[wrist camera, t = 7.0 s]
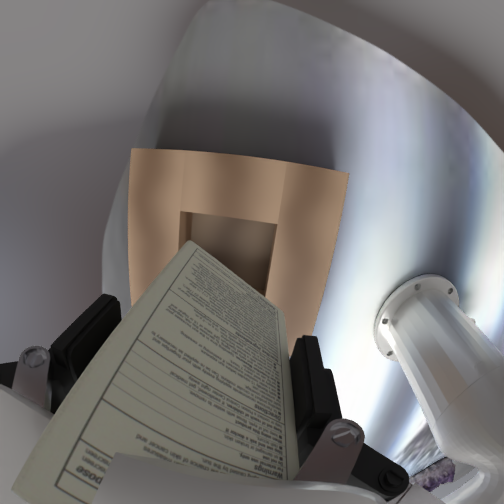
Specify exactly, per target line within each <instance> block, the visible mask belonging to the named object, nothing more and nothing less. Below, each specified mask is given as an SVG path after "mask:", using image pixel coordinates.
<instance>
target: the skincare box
mask: <svg viewBox="0 0 504 504" xmlns="http://www.w3.org/2000/svg"><path fill="white" fill-rule="evenodd" d="M116 452H119V453H124V454H130V455H136V456H142V457H149V458H157V459H162V460H165V461H169V462H172V463H176V464H180V465H184V466H188V467H193V468H197V469H202V470H207V471H212V472H217V473H223V474H230V475H236V476H244V477H253V478H262V479H273V480H290V481H292V480H293V478H294V477H295V475H296V474H297V472H298V471H299V457H298V443H297V433H296V425H295V412H294V400H293V390H292V380H291V370H290V360H289V351H288V342H287V333H286V325H285V317H284V313H283V311H281V310H280V309H279V308H278V307H276V306H275V305H274V304H273V303H271V302H270V301H269V300H268V299H266V298H265V297H264V296H263V295H261V294H260V293H259V292H258V291H256V290H255V289H254V288H252V287H251V286H250V285H248V284H247V283H246V282H245V281H243V280H242V279H241V278H240V277H238V276H237V275H236V274H234V273H233V272H232V271H231V270H229V269H228V268H227V267H226V266H224V265H223V264H222V263H220V262H219V261H218V260H217V259H215V258H214V257H213V256H211V255H210V254H209V253H207V252H206V251H205V250H203V249H202V248H201V247H199V246H198V245H197V244H195V243H194V242H193V241H191V240H189V241H187V242H186V243H185V244H184V245H183V247H182V248H181V249H180V250H179V251H178V252H177V253H176V254H175V256H174V257H173V258H172V259H171V260H170V262H169V263H168V264H167V265H166V266H165V268H164V269H163V270H162V271H161V272H160V274H159V275H158V276H157V277H156V278H155V279H154V281H153V282H152V283H151V284H150V286H149V287H148V288H147V289H146V290H145V292H144V293H143V294H142V295H141V297H140V298H139V299H138V300H137V301H136V303H135V304H134V305H133V306H132V308H131V309H130V310H129V312H128V313H127V314H126V315H125V317H124V318H123V319H122V321H121V322H120V323H119V324H118V326H117V327H116V328H115V329H114V331H113V332H112V333H111V335H110V336H109V337H108V339H107V340H106V341H105V343H104V344H103V345H102V347H101V348H100V349H99V351H98V352H97V353H96V355H95V356H94V358H93V359H92V360H91V362H90V363H89V365H88V366H87V367H86V369H85V370H84V372H83V373H82V374H81V376H80V377H79V379H78V380H77V382H76V383H75V384H74V386H73V387H72V389H71V390H70V392H69V393H68V395H67V396H66V398H65V399H64V401H63V402H62V404H61V405H60V407H59V408H58V410H57V411H56V413H55V414H54V416H53V417H52V419H51V421H50V422H49V424H48V425H47V427H46V428H45V430H44V432H43V433H42V435H41V437H40V438H39V440H38V442H37V443H36V445H35V447H34V448H33V450H32V452H31V453H30V455H29V457H28V459H27V460H26V462H25V464H24V466H23V467H22V469H21V471H20V473H19V475H18V476H17V478H16V480H15V482H14V484H13V486H12V488H11V492H12V493H13V494H14V495H16V496H17V497H19V498H21V499H23V500H24V501H25V502H27V503H28V504H92V502H93V499H94V497H95V495H96V493H97V490H98V488H99V486H100V484H101V481H102V479H103V477H104V475H105V473H106V471H107V469H108V467H109V465H110V463H111V461H112V459H113V457H114V455H115V453H116Z"/></svg>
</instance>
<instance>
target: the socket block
mask: <svg viewBox="0 0 504 504" xmlns="http://www.w3.org/2000/svg"><path fill="white" fill-rule="evenodd" d="M348 178H349V173H345V172H340V171H336V170H331V169H326V168H320V167H315V166H310V165H304V164H298V163H292V162H286V161H279V160H273V159H266V158H258V157H250V156H242V155H233V154H223V153H213V152H201V151H187V150H169V149H137V148H132V149H131V161H130V175H129V195H128V258H129V278H130V293H131V304H132V306H133V305H134V304H135V303H136V301H137V300H138V299H139V298H140V297H141V295H142V294H143V293H144V292H145V290H146V289H147V288H148V287H149V286H150V284H151V283H152V282H153V281H154V279H155V278H156V277H157V276H158V275H159V274H160V272H161V271H162V270H163V269H164V268H165V266H166V265H167V264H168V263H169V262H170V260H171V259H172V258H173V257H174V256H175V254H176V253H177V252H178V251H179V250H180V249H181V248H182V247H183V245H184V244H185V243H186V242H187V241H189V240H191V241H193V242H194V243H195V244H197V245H198V246H199V247H201V248H202V249H203V250H205V251H206V252H207V253H209V254H210V255H211V256H213V257H214V258H215V259H217V260H218V261H219V262H220V263H222V264H223V265H224V266H226V267H227V268H228V269H229V270H231V271H232V272H233V273H234V274H236V275H237V276H238V277H240V278H241V279H242V280H243V281H245V282H246V283H247V284H248V285H250V286H251V287H252V288H254V289H255V290H256V291H258V292H259V293H260V294H261V295H263V296H264V297H265V298H266V299H268V300H269V301H270V302H271V303H273V304H274V305H275V306H276V307H278V308H279V309H280V310H281V311H283V313H284V317H285V325H286V333H287V342H288V351H289V356H291V355H292V352H293V349H294V346H295V343H296V340H297V338H302V336H303V335H309V336H311V335H312V332H313V329H314V325H315V322H316V318H317V315H318V311H319V308H320V304H321V301H322V297H323V293H324V289H325V285H326V282H327V278H328V274H329V270H330V265H331V261H332V257H333V253H334V248H335V244H336V240H337V235H338V230H339V226H340V221H341V216H342V211H343V206H344V200H345V195H346V189H347V184H348Z"/></svg>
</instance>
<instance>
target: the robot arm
mask: <svg viewBox="0 0 504 504" xmlns="http://www.w3.org/2000/svg"><path fill="white" fill-rule="evenodd" d="M121 321H122V319H121V309H120V302H119V301H117V298H116V297H115V296H112V295H108V294H102V295H101V296H100V297H99V298H98V299H97V300H96V301H95V302H94V303H93V304H92V305H91V306H90V307H89V308H88V309H86V310H85V311H84V312H83V314H81V315H80V316H79V317H78V318H77V319H76V320H75V321H74V322H73V323H72V324H71V325H70V326H69V327H68V328H67V330H65V331H64V332H63V333H62V334H61V335H60V336H59V337H58V338H57V339H56V340H55V341H54V342H53V344H52V345H51V348H50V349H49V350H47V349H46V348H44V347H42V346H31V347H28V348H26V349H25V350H24V351H23V352H22V353H21V355H20V357H19V361H17V362H10V363H3V364H0V504H28V503H27V502H25V501H24V500H23V499H21V498H19V497H17V496H16V495H14V494H13V493H12V492H11V488H12V486H13V484H14V482H15V480H16V478H17V476H18V475H19V473H20V471H21V469H22V467H23V466H24V464H25V462H26V460H27V459H28V457H29V455H30V453H31V452H32V450H33V448H34V447H35V445H36V443H37V442H38V440H39V438H40V437H41V435H42V433H43V432H44V430H45V428H46V427H47V425H48V424H49V422H50V421H51V419H52V417H53V416H54V414H55V413H56V411H57V410H58V408H59V407H60V405H61V404H62V402H63V401H64V399H65V398H66V396H67V395H68V393H69V392H70V390H71V389H72V387H73V386H74V384H75V383H76V382H77V380H78V379H79V377H80V376H81V374H82V373H83V372H84V370H85V369H86V367H87V366H88V365H89V363H90V362H91V360H92V359H93V358H94V356H95V355H96V353H97V352H98V351H99V349H100V348H101V347H102V345H103V344H104V343H105V341H106V340H107V339H108V337H109V336H110V335H111V333H112V332H113V331H114V329H115V328H116V327H117V326H118V324H119V323H120V322H121ZM374 338H375V343H376V345H377V347H378V349H379V351H380V352H381V354H382V355H383V356H384V357H386V358H388V359H390V360H392V361H397V362H399V363H400V365H401V367H402V369H403V371H404V373H405V375H406V377H407V379H408V381H409V383H410V385H411V387H412V389H413V391H414V393H415V395H416V398H417V400H418V402H419V404H420V406H421V408H422V411H423V413H424V415H425V417H426V420H427V422H428V424H429V427H430V429H431V431H432V434H433V436H434V439H435V441H436V444H437V446H438V447H439V449H440V451H441V452H442V453H443V454H444V455H445V456H446V457H448V458H450V459H452V460H454V461H457V462H461V463H465V464H469V465H472V466H474V467H476V468H477V469H478V472H477V474H476V475H475V476H474V477H472V478H471V479H470V480H468V481H467V482H466V483H465V484H464V485H463V486H461V487H459V488H458V489H456V490H455V491H453V492H452V493H450V494H448V495H447V496H445V497H444V498H442V499H438V498H437V497H435V496H434V495H433V494H431V493H430V492H428V491H427V490H425V489H424V488H422V487H421V486H420V485H418V484H417V483H414V484H411V483H410V482H409V476H408V473H407V472H406V470H405V469H404V468H403V467H401V466H400V465H398V464H396V463H395V462H393V461H391V460H390V459H388V458H387V457H385V456H383V455H382V454H380V453H379V452H377V451H375V450H374V449H372V448H371V447H369V446H368V445H366V444H365V443H364V439H365V435H364V431H363V430H362V428H361V427H360V426H359V425H358V424H357V423H356V422H354V421H352V420H348V419H342V414H341V410H340V405H339V400H338V396H337V391H336V387H335V382H334V378H333V373H332V371H331V369H325V368H324V367H323V362H322V357H321V352H320V348H319V343H318V338H317V337H316V336H309V335H303V336H302V338H297V340H296V343H295V346H294V349H293V352H292V355H291V358H290V370H291V380H292V390H293V400H294V412H295V425H296V433H297V443H298V457H299V471H298V472H297V474H296V475H295V477H294V478H293V480H292V481H290V480H273V479H262V478H253V477H244V476H236V475H230V474H223V473H217V472H212V471H207V470H202V469H197V468H193V467H188V466H184V465H180V464H176V463H172V462H169V461H165V460H162V459H157V458H149V457H142V456H136V455H130V454H124V453H119V452H116V453H115V455H114V457H113V459H112V461H111V463H110V465H109V467H108V469H107V471H106V473H105V475H104V477H103V479H102V481H101V484H100V486H99V488H98V490H97V493H96V495H95V497H94V499H93V502H92V504H504V356H503V355H502V353H501V352H500V351H499V350H498V349H497V348H496V346H495V345H494V344H493V343H492V342H491V341H490V340H489V339H488V337H487V336H486V335H485V334H484V333H483V332H482V331H481V330H480V329H479V328H478V327H477V326H476V324H475V320H474V319H473V318H469V317H468V316H467V315H466V314H465V313H464V312H463V311H462V310H461V309H460V308H459V297H458V293H457V290H456V288H455V287H454V285H453V284H452V283H451V282H450V281H449V280H447V279H446V278H445V277H442V276H440V275H436V274H425V275H421V276H418V277H415V278H413V279H411V280H409V281H407V282H406V283H404V284H403V285H401V286H400V287H399V288H398V289H396V290H395V291H394V292H393V293H392V294H391V295H390V297H389V298H388V299H387V300H386V301H385V303H384V305H383V306H382V308H381V309H380V311H379V314H378V316H377V318H376V322H375V326H374Z"/></svg>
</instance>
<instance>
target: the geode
mask: <svg viewBox="0 0 504 504" xmlns="http://www.w3.org/2000/svg"><path fill="white" fill-rule="evenodd" d="M454 474H455V465H454V464H453V463H452V459H450V458H448V457H445V458H443V459H441V460H439V461H437V462H435V463H434V464H433V465H431V466H430V467H428V468H426V469H425V470H424V471H422V472H420V473H418V474H416V475H415V476H412V477H411V478H409V482H410V483H411V484H414V483H417V484H418V485H420V486H421V487H422V488H424V489H425V490H427V491H428V492H431V491H432V490H434V489H435V488H437V487H439V485H440V483H441V484H444V483H446V482H453V478H454Z"/></svg>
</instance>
